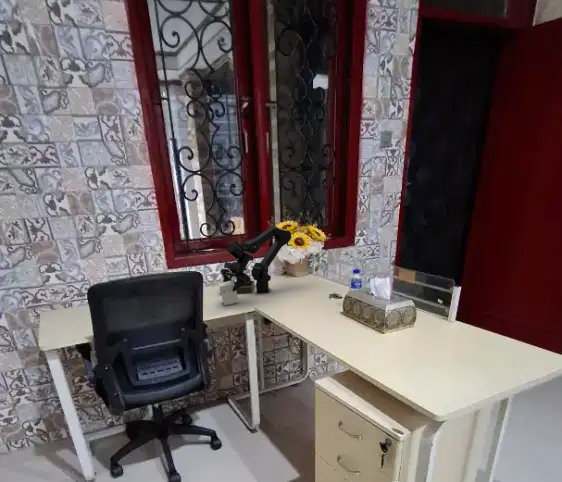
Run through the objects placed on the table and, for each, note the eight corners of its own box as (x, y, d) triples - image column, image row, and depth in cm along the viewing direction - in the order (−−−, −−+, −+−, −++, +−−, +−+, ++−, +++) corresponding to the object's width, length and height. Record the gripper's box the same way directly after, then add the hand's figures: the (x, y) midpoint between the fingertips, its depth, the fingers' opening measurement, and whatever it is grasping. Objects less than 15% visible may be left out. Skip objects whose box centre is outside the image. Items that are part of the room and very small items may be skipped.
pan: (254, 285, 242) (253, 280, 241) (251, 292, 231) (251, 287, 229) (225, 287, 244) (224, 282, 242) (221, 294, 232) (220, 289, 231)
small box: (238, 298, 220) (233, 279, 215) (239, 302, 215) (234, 282, 210) (223, 302, 220) (218, 283, 214) (224, 305, 215) (219, 286, 209)
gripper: (220, 253, 215) (206, 279, 213) (243, 257, 203) (229, 284, 201) (233, 264, 223) (220, 289, 222) (257, 269, 211) (243, 296, 210)
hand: (228, 289), depth 214 cm, fingers closed on small box, 8 cm apart
